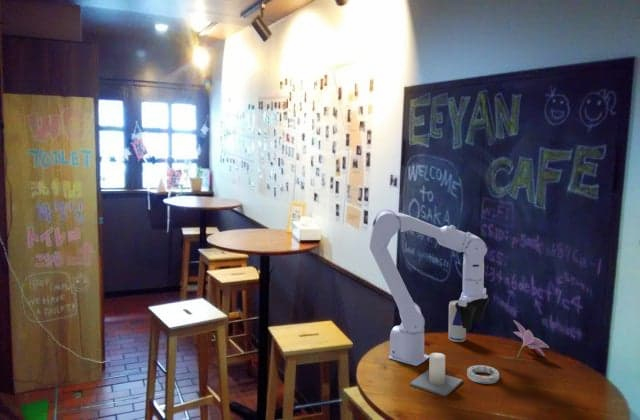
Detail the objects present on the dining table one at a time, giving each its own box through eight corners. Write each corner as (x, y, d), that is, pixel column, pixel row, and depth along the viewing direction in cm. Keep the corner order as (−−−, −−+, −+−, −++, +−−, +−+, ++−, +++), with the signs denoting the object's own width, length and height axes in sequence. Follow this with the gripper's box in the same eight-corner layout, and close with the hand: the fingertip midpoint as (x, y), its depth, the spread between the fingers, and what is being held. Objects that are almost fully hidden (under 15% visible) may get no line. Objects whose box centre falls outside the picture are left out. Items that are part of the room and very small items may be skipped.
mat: (409, 385, 135) (409, 383, 135) (428, 371, 143) (428, 369, 143) (445, 396, 129) (445, 394, 129) (462, 381, 137) (462, 379, 137)
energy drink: (466, 343, 163) (467, 305, 162) (448, 342, 164) (449, 305, 163) (465, 336, 168) (465, 300, 167) (448, 335, 169) (448, 299, 168)
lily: (549, 370, 145) (560, 337, 147) (508, 352, 147) (520, 320, 148) (533, 365, 157) (544, 335, 159) (496, 349, 158) (507, 319, 160)
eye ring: (462, 378, 139) (462, 372, 139) (474, 368, 145) (474, 362, 145) (491, 386, 134) (491, 380, 134) (503, 375, 140) (503, 370, 140)
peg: (426, 382, 136) (426, 356, 135) (432, 376, 139) (433, 351, 138) (441, 386, 133) (441, 360, 132) (447, 380, 136) (447, 355, 135)
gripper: (476, 286, 140) (475, 335, 141) (496, 275, 151) (495, 320, 153) (451, 282, 144) (451, 329, 146) (473, 271, 155) (472, 315, 157)
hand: (472, 324), depth 149 cm, fingers open, 7 cm apart
